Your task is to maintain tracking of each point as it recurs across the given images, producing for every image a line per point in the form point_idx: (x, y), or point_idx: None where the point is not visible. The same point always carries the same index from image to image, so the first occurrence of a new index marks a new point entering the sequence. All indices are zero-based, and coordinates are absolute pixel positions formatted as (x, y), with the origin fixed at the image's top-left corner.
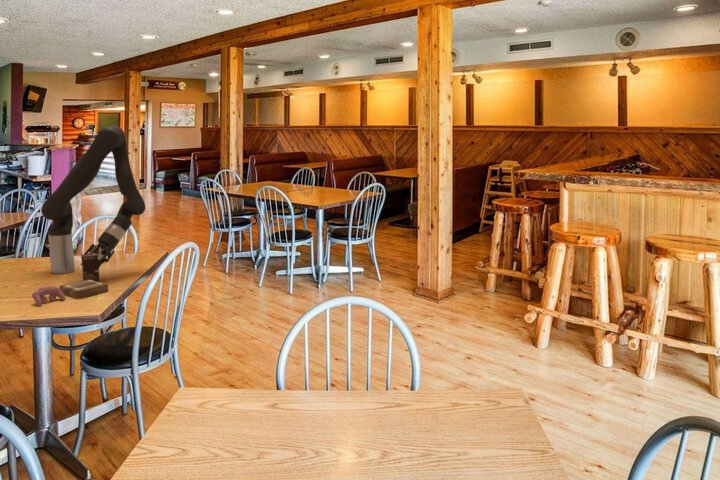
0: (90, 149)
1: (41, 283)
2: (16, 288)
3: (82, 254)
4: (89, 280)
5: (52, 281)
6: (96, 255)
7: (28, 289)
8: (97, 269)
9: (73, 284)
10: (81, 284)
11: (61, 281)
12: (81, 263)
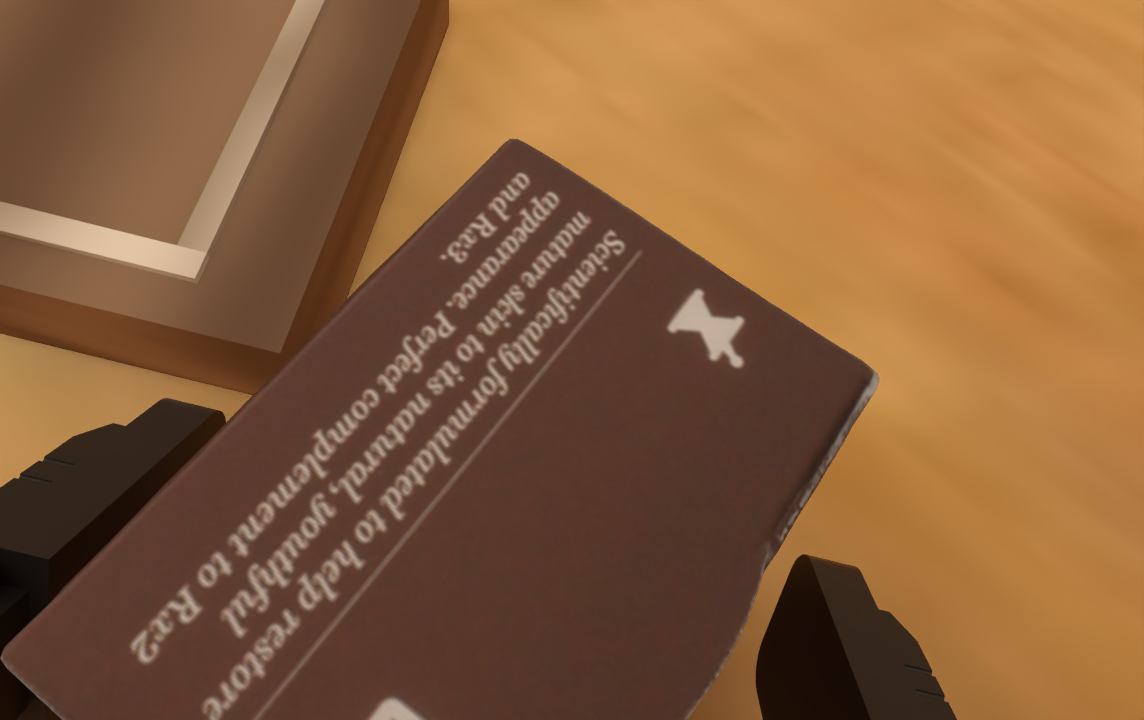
0: None
1: (1120, 288)
2: (1115, 42)
3: (837, 387)
4: (170, 260)
5: (1112, 424)
6: (69, 594)
7: (960, 46)
8: None
9: (289, 20)
10: (153, 55)
11: (1001, 476)
12: (842, 567)
